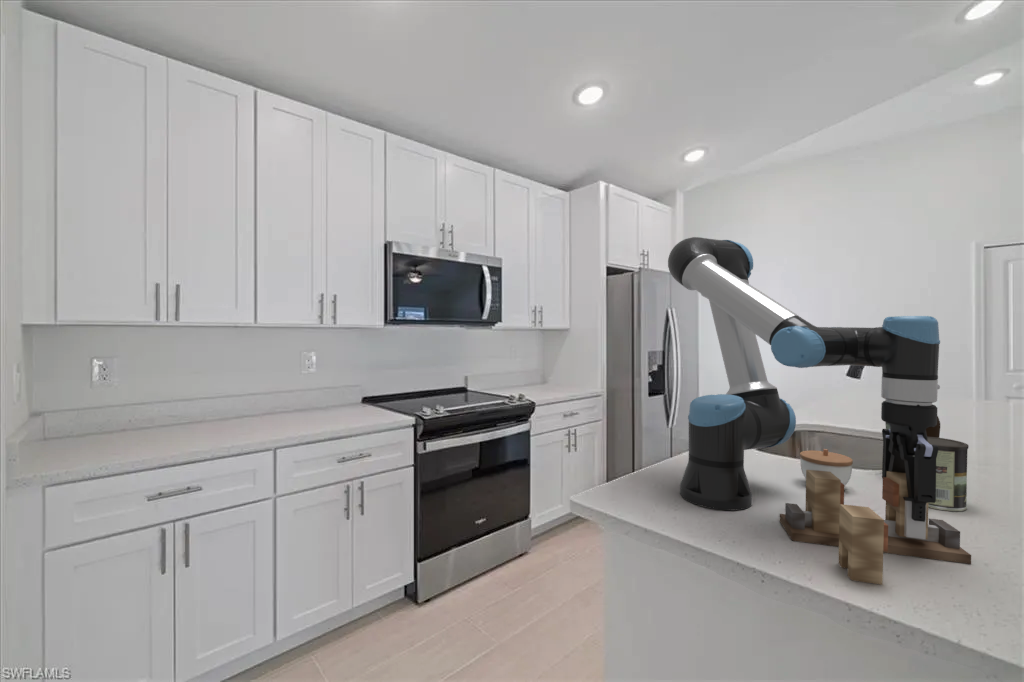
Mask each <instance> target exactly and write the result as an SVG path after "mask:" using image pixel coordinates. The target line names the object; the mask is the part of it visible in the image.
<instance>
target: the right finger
mask: <svg viewBox="0 0 1024 682" xmlns="http://www.w3.org/2000/svg"><path fill="white" fill-rule="evenodd" d="M881 493H882V495H881V496H882V499H883V500H884V501H885V515H884V516H885V517H884V520H891V521H896V530H895V533H896V534H897V535H899V536H902V537H906V536H905V535H904V521H905V500H904V499H903V497H908V490H907V480H906V473H901V472H890V471H887V472H886V477H883V479H882V491H881ZM928 525H929V507H928V503H926V539H928Z"/></svg>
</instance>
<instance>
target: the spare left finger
mask: <svg viewBox="0 0 1024 682" xmlns="http://www.w3.org/2000/svg"><path fill="white" fill-rule="evenodd" d="M884 520H885V519H884V518H882V517H881V516H880V515H879V514H877V513H876V512H875V511H874V510H873V509H872V508H870V507H869V506H861V505H853V504H845V503H844V504H840V517H839V547H838V561H837V562H838V565H839V566H840V568H842V569H845V570H846V569H847V576H848V578H849V579H850V580H851V581H856V582H860V583H861V582H862V583H866V584H867V583H868V584H873V585H874V584H875V585H880V586H883V580H884V579H883V578H884V577H883V575H884V571H883V570H884V553H883V551H888V525H887V524H886V523H885V522H884Z"/></svg>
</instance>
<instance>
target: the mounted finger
mask: <svg viewBox="0 0 1024 682" xmlns="http://www.w3.org/2000/svg"><path fill="white" fill-rule="evenodd" d="M840 504H844V505H845V486H844V484H843V483H841V480H840V479H839V478H837V477H836V476H835V475H834V474H832V473H831V472H828V471H817V470H806V479H805V510H804V511H810V512H812V529H813V531H816V532H824V533H832V534H839V517H840Z"/></svg>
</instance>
